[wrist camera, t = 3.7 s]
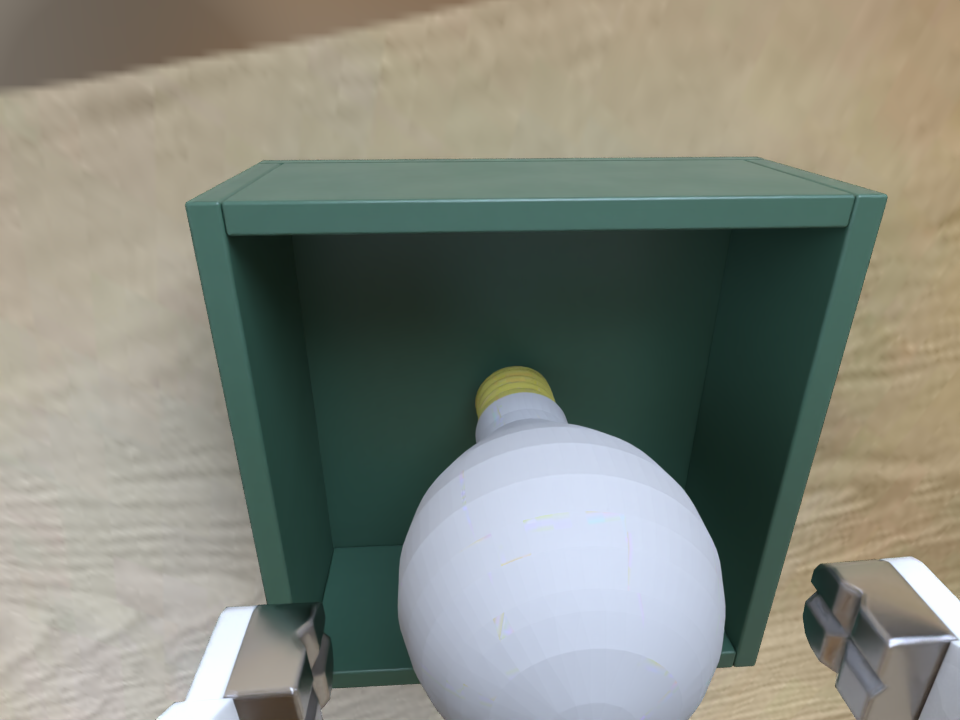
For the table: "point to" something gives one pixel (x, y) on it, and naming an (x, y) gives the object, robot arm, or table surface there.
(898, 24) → the table surface
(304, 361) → the green open square box
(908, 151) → the table surface
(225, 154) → the table surface
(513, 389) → the light bulb
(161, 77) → the table surface
